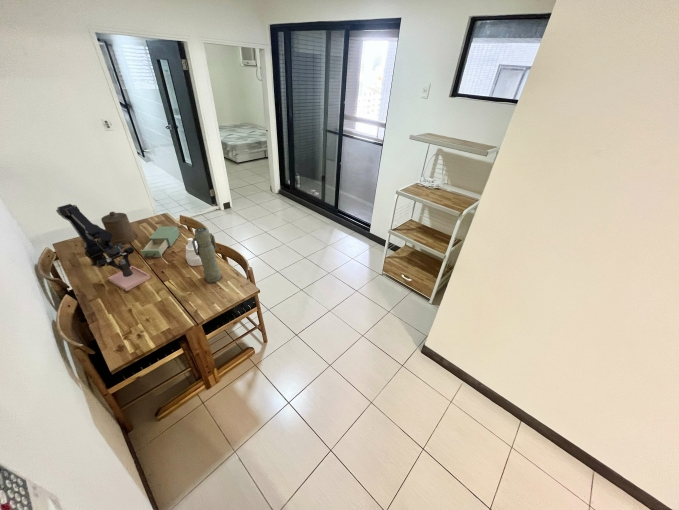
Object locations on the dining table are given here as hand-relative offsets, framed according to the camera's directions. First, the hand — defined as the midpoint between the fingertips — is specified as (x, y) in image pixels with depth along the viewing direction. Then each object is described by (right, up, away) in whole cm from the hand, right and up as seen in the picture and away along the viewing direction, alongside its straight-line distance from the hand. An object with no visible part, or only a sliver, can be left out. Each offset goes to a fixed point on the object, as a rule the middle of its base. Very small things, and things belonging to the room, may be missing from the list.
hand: (126, 268), depth 160 cm
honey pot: (+29, +4, +25) cm, 39 cm away
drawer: (-2, +10, +29) cm, 30 cm away
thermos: (+47, -7, +11) cm, 48 cm away
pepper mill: (-1, -4, +3) cm, 5 cm away
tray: (-2, -7, +5) cm, 9 cm away
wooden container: (-34, +19, +41) cm, 56 cm away
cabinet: (-4, +19, +43) cm, 47 cm away
